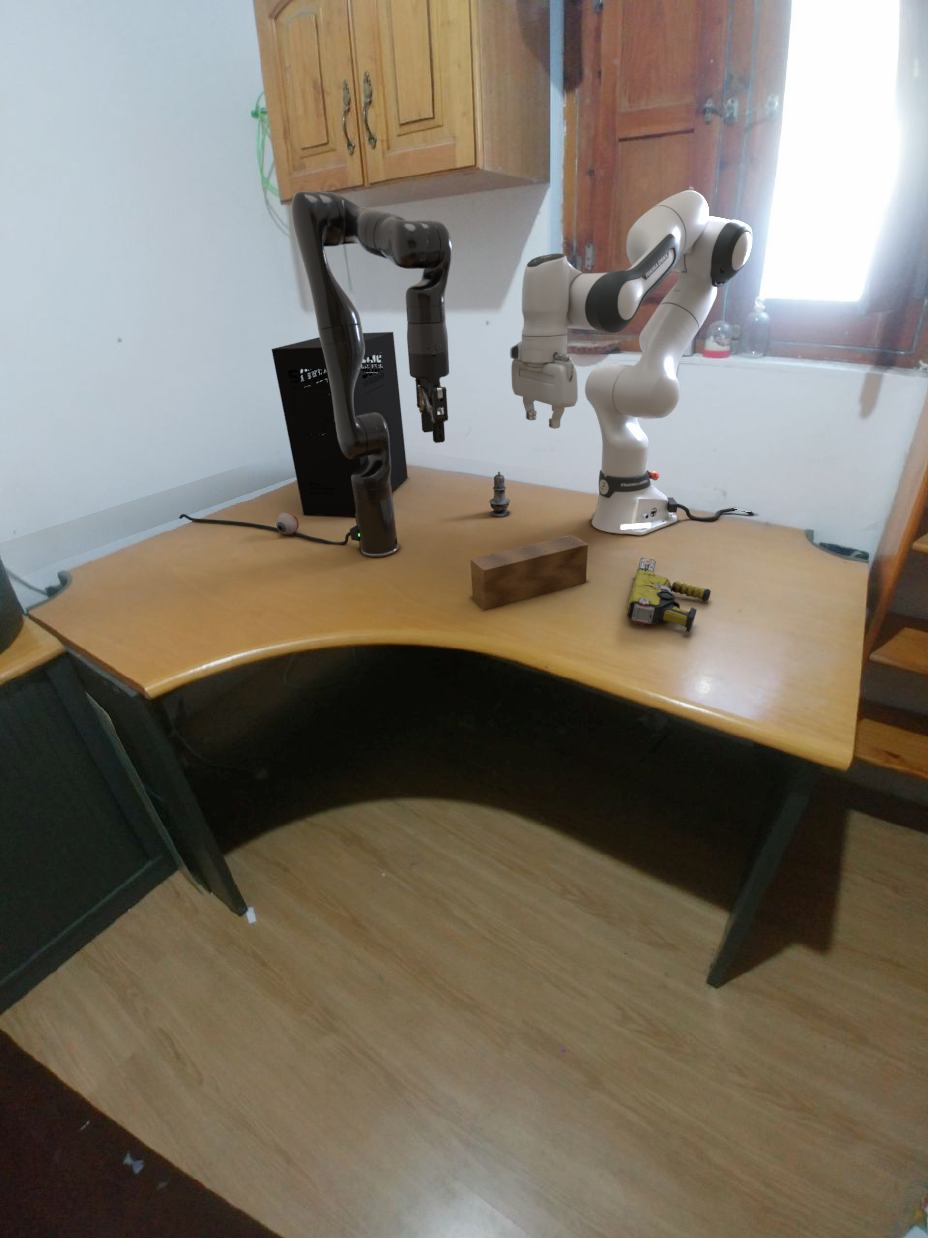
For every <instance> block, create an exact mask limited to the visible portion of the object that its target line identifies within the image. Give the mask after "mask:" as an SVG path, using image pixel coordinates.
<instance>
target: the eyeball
mask: <svg viewBox="0 0 928 1238" xmlns="http://www.w3.org/2000/svg"><path fill="white" fill-rule="evenodd" d="M299 525H300V522H299V519H298V517H297V516H296V515H295V514H294V513H292V512H287V511H286V512H282V513H280V514H279V515H278V516H277V517H276V520H275V527H276V528H277V529H278V530H279V531H278V532H280V533H281V534H282V535H285V536H286V535H287V536H289V535H292V533H294V532H297V531H298V529H299Z"/></svg>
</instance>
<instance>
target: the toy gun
mask: <svg viewBox="0 0 928 1238" xmlns="http://www.w3.org/2000/svg"><path fill="white" fill-rule="evenodd" d="M647 559H648V558H647V557H641V558H640V560H639V563H638V568H637V569H636V571H635V576H634V581H633V585H632V588H631V593H630V597H629V601H628V605H627V610H626V618H627V619H628V620H630V621H633V622H634V624H636V625H638V624H639V625H641V626H644V625H645V624H648V625H656V624H658V623H661V622H663V621H665V622H668V623H671V624H675V625H679V626H681V627H684V628H685V632H687V633H690V632H691V629H692V627H693V625H694V622H695V619H696V614H697V611H698V609H697V608H694V607H691V608H690V610H689V611H687V610H685V609H682V608H681V605H680V602H678V601H676V600H675V599H676V598H675V594H679V595H682V596H684V595H685V596H686V597H692V598H693V599H698V600H699V601H703V602H708V601H709V598H710V597H711V593H712V591H711V589H710V588H705V587H702V588H701V587H700V586H694V585H692V584H687V583H685V582H680V581H677V580H676V581H674V582H673V583H671V582H670V580H669V579H668V577H666V576H662V575H659V574H655V569H656V563H657V562H656V560H655V559H654V558H649V561H647ZM646 562H647V563H648V564H647V563H646ZM674 593H675V594H674Z"/></svg>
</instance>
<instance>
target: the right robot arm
mask: <svg viewBox="0 0 928 1238" xmlns="http://www.w3.org/2000/svg"><path fill="white" fill-rule="evenodd" d="M709 215H710V212H709V206H708V203H707V201H706V199H705V197H704V196H703V195H702V194H701V193H699V192H698V191H695V190H689V189H688V190H683V191H680V192H677V193H675V194H673V195H670V196H669V197H667V198H664V200H662V201H660V202H659V203H657V204H655V205H654V206H653V207H651V208H649V210H647V211H646V212H644V214H642V215H641V216H640V217H639V218H638V219H637V220H636V221H635V222H634V224H633V225H632V226H631V227H630V229H629V230H628V233H627V236H626V243H625V245H626V246H625V248H626V249H625V251H626V256H627V258H628V261H629V263H630V265H631V266H630V267H629V268H628V269H626V270H617V271H616V270H615V271H609V272H591V273H583V271H581V270H579V269H577V268H575V266H573V265H572V264H571V263H570V261H568V257H567V256H566V254H564V253H549V254H543V255H539V256H537V257H534V258H531V259H530V261H528V262H527V264H526V265H525V268H524V272H523V276H522V287H521V314H522V317H523V318H522V319H523V327H522V329H521V341H519V342H517V343H516V344H515V345H513V346H511V347H510V348H509V356H510V359H512V361H511V367H510V368H511V370H510V371H511V386H512V387H511V388H512V391H513V394H514V395H515V396H519V397H521V398H522V405H523V408H524V410H525V419H526V420H528V421H535V420H537V413H538V412H537V410H536V409H535V403H534V402H539V403H542V404H547V405H549V406H551V411H552V415H551V417H550V418H548V427H549V428H551V429H554V430H555V429H559V428H560V427H561V419H562V417H563V415H564V413H565V409H566V408H573V407H575V406H576V405H577V402H578V398H579V397H578V391H579V390H578V389H579V387H578V372H577V369H576V367H575V366H576V365H575V363H574V361H573V359H572V357H571V355H570V354H568V329H573V330H574V329H576V330H591V331H600V332H604V333H611V334H616V333H620V332H621V331H623V330H625V329H626V328H627V327H628V326H629V324H630V323H632V320H634V318H635V316H636V315H637V312H638V311H639V310H640V308H641V307H642V305H643V303H644V302H645V301H646V300H647V299H648V298H649V297H650V296H651V295H652V294H653V292H655V291H656V290H657V288H658V287H659V286H660V285H661V284H662V283H663V282H664V281H665V280H666V279H668V277H669V276H670V274H671V273H672V272H677V273H679V277H678V279H677V282H676V283H675V284H674V285H673V287H671V289H670V290H669V291H668V293H666V295H665V296H664V297H663V298H662V300H661V302H660V303H659V304H658V306H657V307H656V309H655V310H654V312H653V313H652V315H651V317H650V318H649V320H648V321H647V323H646V324H645V326H644V327H643V329H642V330H641V331H640V334H639V337H638V338H639V339H638V342H639V347H640V350H641V352H642V354H641V357H640V358H639V360H638V361H637V363H635V364H634V365H632V364H623V363H616V362H615V363H607V364H603V365H597V366H596V367H594V368H593V369H592V370H591V371H590V373H589V374H588V376H587V378H586V381H585V386H584V394H585V397H586V400H587V401H588V402H589V404H590V405H591V407H592V408H593V411H594V413H595V414H596V418H597V420H598V421H597V422H598V425H599V428H600V434H601V441H602V442H601V443H602V444H601V445H602V447H601V468H600V470H599V474H598V492H599V493H598V498H597V502H596V507H595V511H594V514H593V517H592V520H591V525H592V526H593V527H594V528H595V529H597V530H599V531H601V532H605V533H611V534H623V535H625V534H626V535H632V536H633V535H634V536H645V535H646V534H650V533H652V532H654V531H657V530H660V529H662V528H665V527H668V526H670V525H672V524H675V523H677V522H678V516H677V515H676V514H677V513H678V509H681V510H683V511H684V512H685V515H686V516H687V518H689V519H690V520H692V521H698V522H699V521H700V522H709V521H711V522H712V521H715V520H717V519H719V517H720V515H722V514H726V513H731V512H736V511H735V510H737V509H734V508H735V507H729V508H724V509H723V508H722V509H720V510H718V511H716V512H715V515H714V516H713V515H712V516H705V517H704V516H702V517H700V516H695V515H693V514H691V512H690V509H689V508H688V507H686V506H685V505H683V504H681V503H678V502H677V501H676V499H675V498H674V497H671V496H669V497H667V496H666V495H665V494H664V493H663V492H661V491H660V490H659V489H658V488H656V487H655V486H654V485H652V483H651V480H653V481H658V479H659V478H660V473H659V472H657V471H654V470H651V471H649V470H648V469H647V466H648V458H649V457H648V455H649V447H650V442H649V437H648V435H647V434H646V433H645V432H644V431H643V429H642V428H641V426H640V423H639V420H638V419H643V420H651V419H663V418H665V417H667V416H669V415H670V414H671V413H673V411H674V410H675V408H676V406H677V405H678V403H679V400H680V397H681V386H680V382H679V380H678V376H677V372H678V371H677V370H678V367H679V364H680V361H681V359H682V357H683V356H684V354H685V352H686V351H687V349H688V348H689V346H690V344H691V343H692V341H693V340H694V339H695V337H696V335H697V334H698V332H699V331H700V329H701V328H702V327H703V324H704V323H705V321H706V319H707V317H708V315H709V313H710V311H711V310H712V307H713V305H714V302H715V300H716V298H717V294H718V288H721V287H723V286H725V285H726V284H727V283H729V281H730V280H731V279H732V278H734V277H735V276H736V275H737V274H738V273H739V272H740V271H741V270H742V269H743V268H744V267H745V265H746V264H747V262H748V260H749V257H750V255H751V252H752V249H753V243H754V236H753V231H752V228H751V227H750V225H748V224H747V223H745V222H742V221H740V220H737V219H731V220H730V219H726V218H722V217H716V216H709ZM750 511H751V510H750ZM742 512H743V513H746V514H748V515H749V516H751V517H753V516H755V513H754V512H753V511H751V512H745V511H742ZM675 513H676V514H675Z"/></svg>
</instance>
